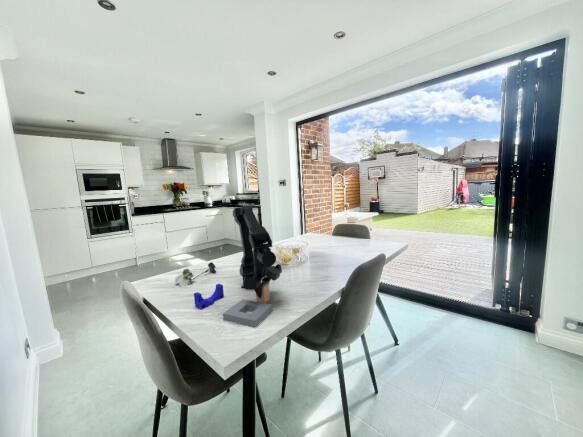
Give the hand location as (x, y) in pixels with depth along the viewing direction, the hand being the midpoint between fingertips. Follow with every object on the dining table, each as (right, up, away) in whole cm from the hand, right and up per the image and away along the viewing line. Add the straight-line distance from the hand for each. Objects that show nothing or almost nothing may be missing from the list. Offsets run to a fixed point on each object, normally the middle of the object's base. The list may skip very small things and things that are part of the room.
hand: (262, 295), depth 101 cm
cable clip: (-22, -4, +1) cm, 23 cm away
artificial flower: (-39, -1, +29) cm, 49 cm away
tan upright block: (0, -2, 0) cm, 2 cm away
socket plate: (-4, -4, -11) cm, 12 cm away
